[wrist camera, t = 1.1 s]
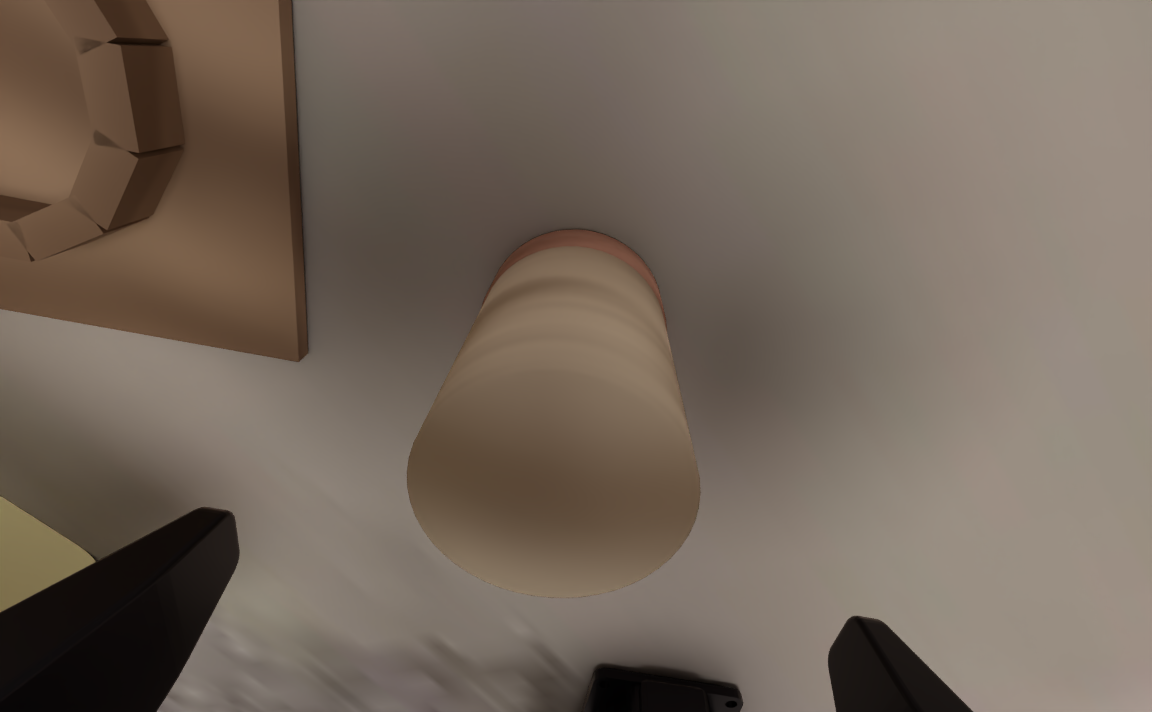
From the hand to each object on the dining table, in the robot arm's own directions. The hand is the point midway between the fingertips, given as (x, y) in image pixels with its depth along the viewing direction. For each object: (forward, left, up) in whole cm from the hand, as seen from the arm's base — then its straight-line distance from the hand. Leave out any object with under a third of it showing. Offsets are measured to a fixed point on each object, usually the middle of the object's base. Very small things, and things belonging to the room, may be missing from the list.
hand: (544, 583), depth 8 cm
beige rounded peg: (0, 0, -10) cm, 10 cm away
